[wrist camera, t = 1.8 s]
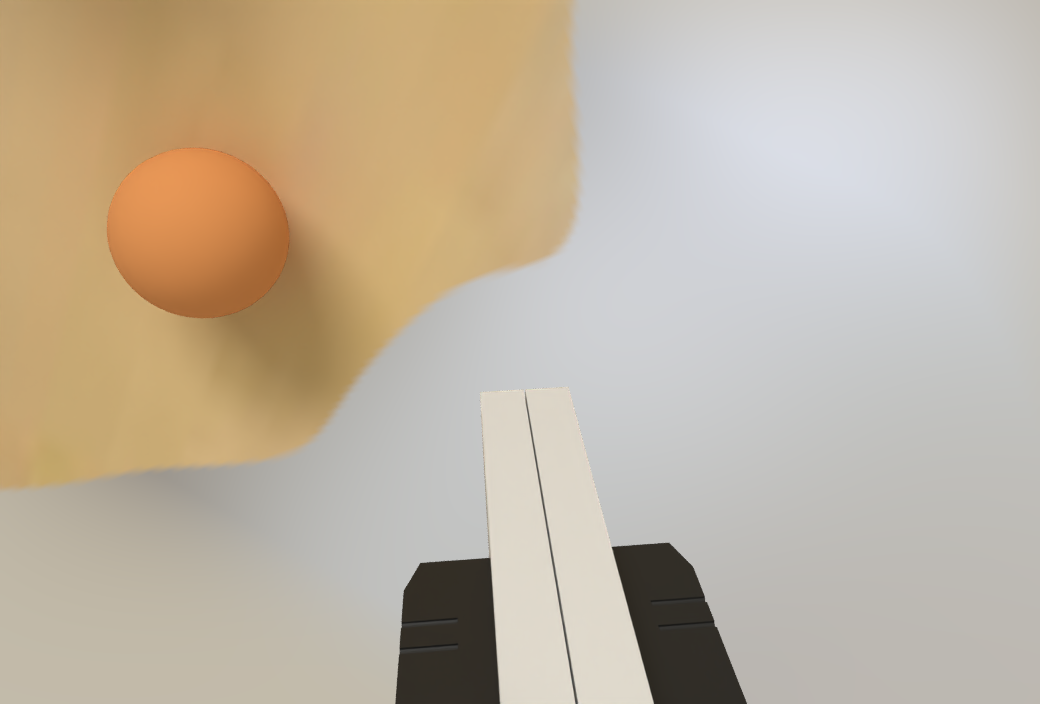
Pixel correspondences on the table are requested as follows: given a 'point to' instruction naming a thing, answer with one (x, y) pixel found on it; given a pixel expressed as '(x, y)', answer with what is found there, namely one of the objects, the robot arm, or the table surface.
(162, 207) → the ball
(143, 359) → the table surface
